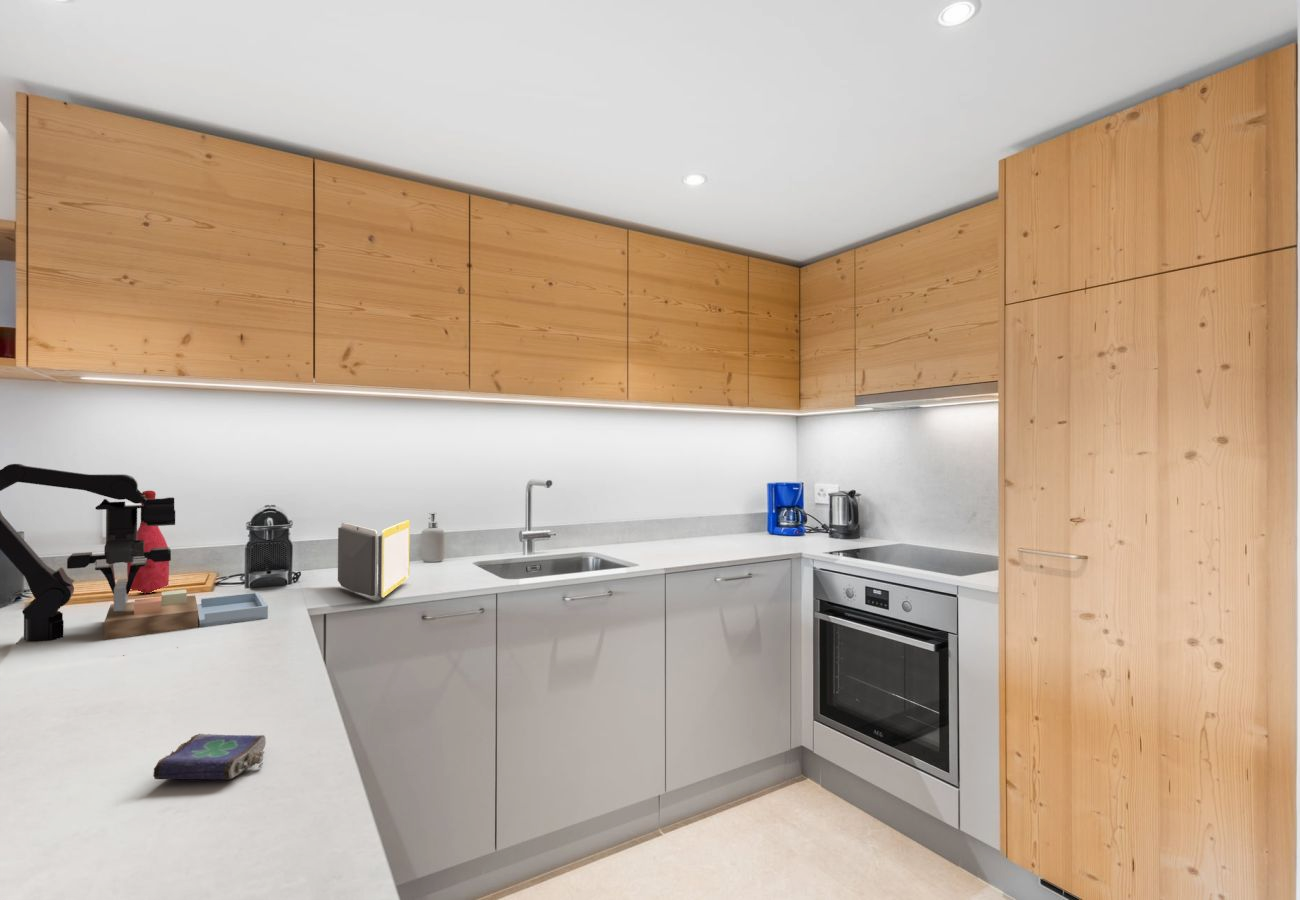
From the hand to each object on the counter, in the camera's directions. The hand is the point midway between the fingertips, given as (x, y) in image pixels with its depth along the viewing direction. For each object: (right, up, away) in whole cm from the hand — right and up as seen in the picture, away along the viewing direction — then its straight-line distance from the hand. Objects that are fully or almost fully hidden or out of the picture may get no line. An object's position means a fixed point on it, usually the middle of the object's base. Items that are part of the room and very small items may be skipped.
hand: (121, 594), depth 152 cm
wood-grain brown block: (+5, -8, +4) cm, 10 cm away
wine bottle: (-24, -8, +39) cm, 47 cm away
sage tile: (+6, -4, +9) cm, 11 cm away
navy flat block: (+64, -9, -68) cm, 94 cm away
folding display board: (+43, -9, +48) cm, 65 cm away
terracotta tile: (+6, -4, 0) cm, 7 cm away
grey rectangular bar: (0, -3, 0) cm, 2 cm away
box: (+18, -8, +13) cm, 23 cm away
